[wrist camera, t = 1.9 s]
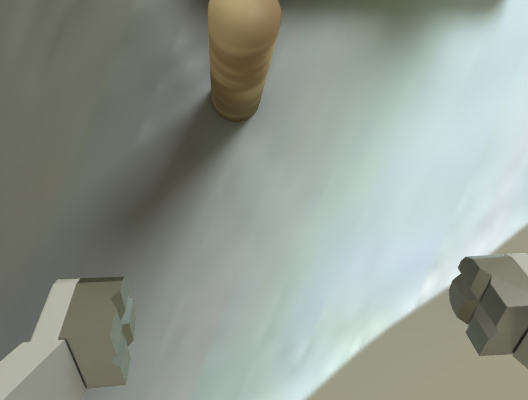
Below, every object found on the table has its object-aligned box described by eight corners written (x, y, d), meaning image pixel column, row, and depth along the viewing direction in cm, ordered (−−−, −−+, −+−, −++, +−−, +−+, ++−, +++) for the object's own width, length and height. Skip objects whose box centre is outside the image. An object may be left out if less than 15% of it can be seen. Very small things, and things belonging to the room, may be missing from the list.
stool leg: (212, 121, 31) (209, 47, 20) (210, 75, 31) (206, -22, 20) (260, 121, 31) (283, 47, 20) (258, 75, 32) (279, -21, 21)
